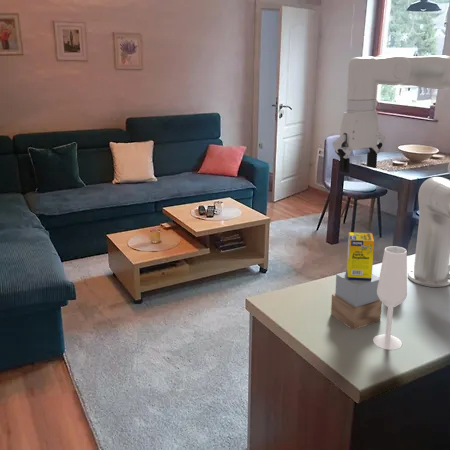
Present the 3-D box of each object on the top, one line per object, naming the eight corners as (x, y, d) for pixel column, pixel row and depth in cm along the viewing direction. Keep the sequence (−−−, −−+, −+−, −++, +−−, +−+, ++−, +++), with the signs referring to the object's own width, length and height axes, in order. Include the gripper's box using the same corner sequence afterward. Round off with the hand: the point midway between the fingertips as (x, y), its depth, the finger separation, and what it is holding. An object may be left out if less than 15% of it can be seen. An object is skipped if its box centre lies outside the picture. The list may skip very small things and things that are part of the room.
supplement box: (371, 281, 124) (374, 240, 120) (347, 280, 125) (349, 240, 121) (369, 271, 129) (372, 232, 126) (346, 270, 130) (348, 231, 127)
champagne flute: (385, 352, 115) (394, 257, 107) (367, 338, 120) (373, 247, 113) (408, 345, 117) (418, 252, 109) (388, 331, 123) (396, 242, 115)
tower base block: (357, 306, 136) (358, 287, 134) (380, 321, 128) (381, 300, 126) (331, 314, 132) (331, 294, 130) (352, 329, 125) (354, 309, 123)
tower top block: (358, 288, 133) (359, 267, 132) (379, 299, 127) (381, 278, 125) (335, 294, 130) (336, 274, 128) (355, 307, 123) (357, 285, 121)
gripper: (375, 102, 136) (372, 163, 142) (326, 107, 129) (324, 171, 135) (396, 104, 130) (391, 167, 136) (345, 110, 123) (342, 176, 128)
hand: (358, 169), depth 135 cm, fingers open, 9 cm apart
